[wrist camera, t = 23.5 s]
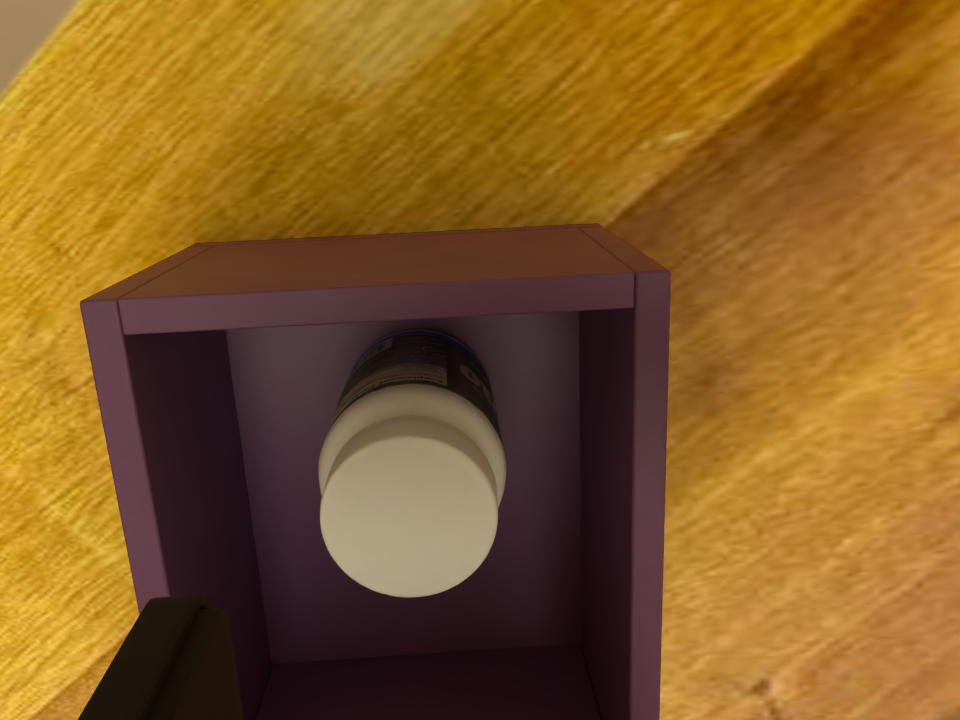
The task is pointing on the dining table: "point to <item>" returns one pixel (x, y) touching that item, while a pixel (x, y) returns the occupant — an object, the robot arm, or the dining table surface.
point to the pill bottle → (412, 466)
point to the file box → (300, 435)
